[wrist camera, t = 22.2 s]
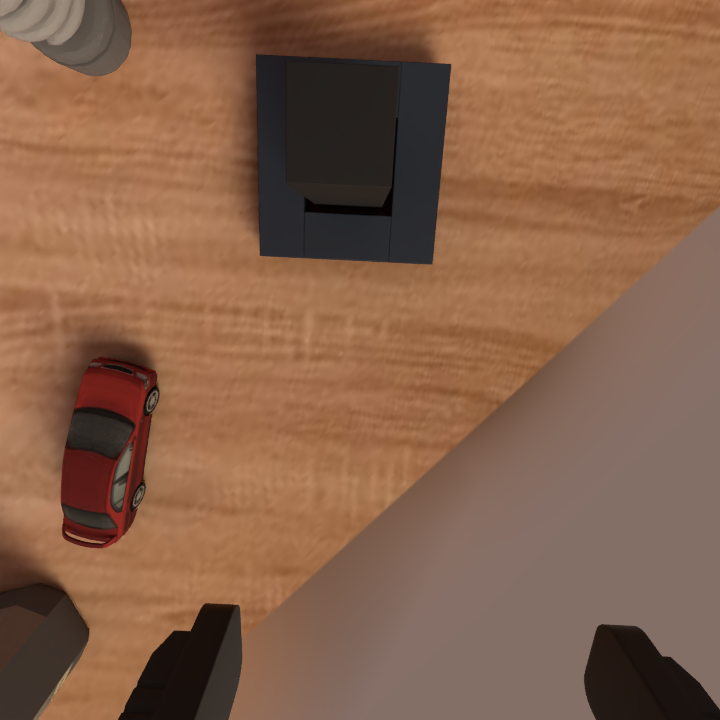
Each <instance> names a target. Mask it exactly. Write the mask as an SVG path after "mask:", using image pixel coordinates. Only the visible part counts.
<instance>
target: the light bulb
mask: <svg viewBox="0 0 720 720" xmlns="http://www.w3.org/2000/svg"><path fill="white" fill-rule="evenodd" d="M0 31H2V32H4V33H5V34H7V35H8V36H10V37H13V38H15V39H18V40H21V41H28V42H31V44H32V45H33V46H34V47H36V48H37V49H38V50H40V51H41V52H42V53H43V54H44V55H46V56H47V57H49V58H51V59H52V60H54V61H56V62H57V63H59V64H61V65H64V66H66V67H68V68H71V69H73V70H76V71H78V72H81V73H83V74H86V75H90V76H102V75H106V74H109V73H111V72H113V71H115V70H117V69H118V68H119V67H120V65H121V64H122V63H123V62H124V61H125V60H126V58H127V56H128V53H129V50H130V47H131V34H132V30H131V25H130V21H129V16H128V12H127V10H126V9H125V7H124V5H123V3H122V1H121V0H0Z"/></svg>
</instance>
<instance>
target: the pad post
mask: <svg viewBox="0 0 720 720" xmlns="http://www.w3.org/2000/svg"><path fill="white" fill-rule="evenodd" d="M398 80H399V66H387V65H367V64H347V63H327V62H307V61H286V183H287V184H289V185H290V186H291V187H293V188H294V189H295V190H297V191H298V192H299V193H301V194H302V195H303V196H305V197H306V198H307V199H309V200H310V201H311V202H313V203H314V204H315V205H317V206H322V207H342V208H362V209H381V208H382V206H383V204H384V202H385V200H386V198H387V195H388V193H389V191H390V189H391V187H392V173H393V158H394V142H395V127H396V111H397V95H398Z"/></svg>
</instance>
